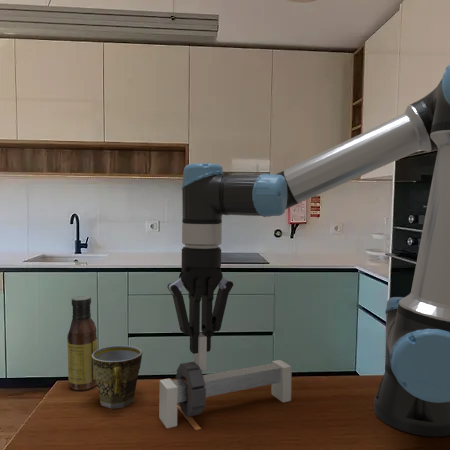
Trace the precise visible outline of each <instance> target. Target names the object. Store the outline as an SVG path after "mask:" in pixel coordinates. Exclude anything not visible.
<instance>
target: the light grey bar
mask: <svg viewBox="0 0 450 450" xmlns="http://www.w3.org/2000/svg"><path fill="white" fill-rule="evenodd" d="M202 375H203V378H204V382H205V386H204V387H205V388H206V398H208V397H213V396H219V395H224V394H228V393H233V392H239V391H244V390H249V389H254V388H258V387H264V386H269V385H270V386H271V385H272V384H275V383H280V382H281V377H282V368H281V367H279V366H278V365H276V364H274V363H272V362H271V363H267V364H260V365H254V366H250V367H249V366H248V367H243V368H237V369H231V370H225V371H221V372H215V373H208V374H202ZM171 380H172V382H173V383H174V384H175V385H176V386H177V387H178V392H177V404H179V402H183V401H189V388H188V384H187V380H186V378H183V379H178V380H176V379H174V380H173V379H171Z"/></svg>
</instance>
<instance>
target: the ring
mask: <svg viewBox="0 0 450 450" xmlns="http://www.w3.org/2000/svg"><path fill="white" fill-rule="evenodd" d="M203 375H204V374H203V371H201V369H200V367H199V366H198V365H197V364H196V363H195V362H194V361H188V362H183V363H180V364H179V366H178V368H177V369H176V373H175V380H178V379H183V378H186V380H187V384H188V388H189V401H183V402H178V406H179V405H180V407H181V410H182V412H183V413H184V414H185V415H186V417H189V416H191V417H193V416H197V415H201V414H202V413H203V411H204V410H205V408H206V403H207V400H206V399H207V397H206V388H205V387H204V386H205V382H204V378H203Z"/></svg>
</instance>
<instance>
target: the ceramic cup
mask: <svg viewBox="0 0 450 450" xmlns="http://www.w3.org/2000/svg"><path fill="white" fill-rule="evenodd" d="M142 358H143V350H142V349H141V348H140V347H137V346H133V345H123V344H121V345H111V346H106V347H101V348H99V349H97V351H95V352H94V353H93V354H92V361H93V367H94V372H95V376H96V379H97V385H96V386H97V391H98V397H99V402H100V405H101V406H102V407H104V408H108V409H112V410H113V409H123V408H125V407H127V406H129V405H131V404H132V403H133V402H134V399H135V396H136V395H135V393H136V388H137V383H138V382H137V381H138V378H139V377H138V376H139V373H140V369H141V365H142V364H141V363H142Z"/></svg>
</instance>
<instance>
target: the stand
mask: <svg viewBox="0 0 450 450" xmlns="http://www.w3.org/2000/svg"><path fill="white" fill-rule="evenodd" d="M271 363H274V364H276V365H278V366H279V367H281V368H282V377H281V382H280V383H275V384H271V390H270V391H271V392H270V393H271V395H272V396H273V397H275V398H276V399H278V401H280V402H282V403H286V402H287V403H288V402H291V401H292V376H293V375H292V374H293V373H292V372H293V371H292V370H293V369H292V368H293V367H292V366H291V365H290V364H288V363H286V362H284V361H282V360H281V359H277V360H271ZM172 380H173V379H171V378H164V379H160V380H159V391H158V392H159V399H158V400H159V401H158V402H159V403H158V404H159V407H158V409H159V410H158V411H159V412H158V414H159V415H158V418H159V420H160V421H161V423H162V424H163V426H164V427H165V428H166V429H170V428H175V427H177V426H178V411H179V412H180V413H181V414H182V416H183V417H184V418H185V419H186V421H187V422H188V423H189V424H190V425H191V426H192V428H193V429H194V431H199V430H201V429H202V427H200V425H199V423H197V422H196V421H195V419H194V418H193V416H189V417H186V415H185V414H184V413H183V412H182V410H181V407H180V405H179V404H178V403H177V392H178V387H177V386H176V385H175V384H174V383H173V382H172Z"/></svg>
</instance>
